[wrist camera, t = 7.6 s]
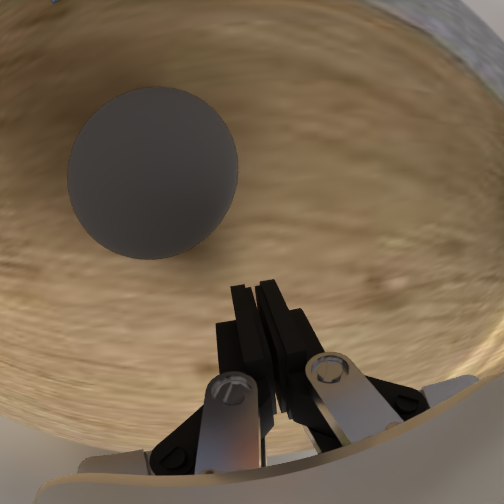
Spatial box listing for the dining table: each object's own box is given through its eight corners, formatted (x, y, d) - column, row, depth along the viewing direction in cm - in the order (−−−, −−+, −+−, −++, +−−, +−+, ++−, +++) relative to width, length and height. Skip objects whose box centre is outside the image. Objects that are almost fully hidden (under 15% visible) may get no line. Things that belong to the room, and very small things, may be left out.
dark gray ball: (246, 286, 7) (270, 186, 11) (137, 57, 4) (220, 56, 8) (100, 303, 8) (160, 217, 13) (10, 169, 5) (107, 115, 10)
